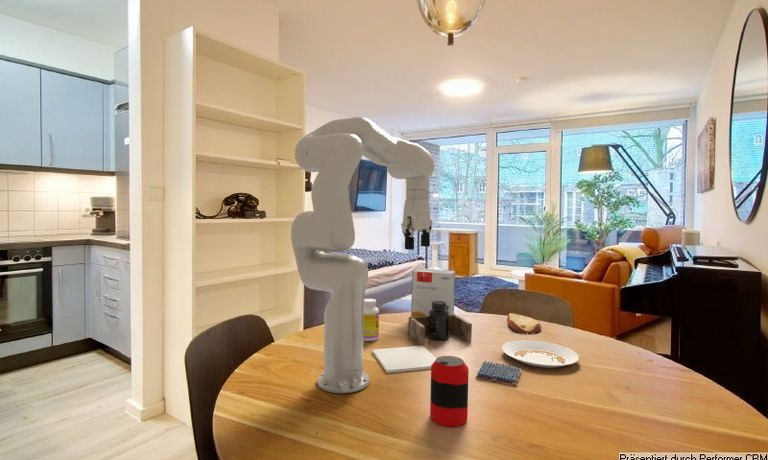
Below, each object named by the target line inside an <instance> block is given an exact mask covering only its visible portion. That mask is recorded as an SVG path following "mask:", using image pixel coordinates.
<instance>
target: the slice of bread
mask: <svg viewBox="0 0 768 460" xmlns="http://www.w3.org/2000/svg"><path fill="white" fill-rule="evenodd" d="M506 321H508V322H507V325H508V327H510V328H511V329H512V330H514V331H515V332H516V331H517V333H519V332H520V333H519V334H522V333H528V334H527V335H531V334H530V333H536V332H537V333H539V332H538V331H540V332H541V331H542V325H541V322H540V321H539V320H537V319H535V318H533V317H529V316H525V315H522V314H516V313H511V312H510V313H508V315H507V319H506ZM537 333H536V334H537Z"/></svg>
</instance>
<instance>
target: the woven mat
mask: <svg viewBox="0 0 768 460" xmlns="http://www.w3.org/2000/svg"><path fill="white" fill-rule="evenodd" d="M521 370H522V368H520V366H517V365H515V366H513V365H512V366H511V365H510V364H509V365H507V364H505V363H502V364H501V363H498V362H496V363H495V362H492V361H487V360H484V361H483V362H482V364H480V367H479V370H478V371H477V373H476V376H475V378H476V379H477V380H483V381H487V382H493V383H499V384H505V385H508V386H509V385H510V386H513V387H514V386H515V387H516V386H518V383H519V380H520V377H521V374H522V371H521Z"/></svg>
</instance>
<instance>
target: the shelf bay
mask: <svg viewBox="0 0 768 460" xmlns="http://www.w3.org/2000/svg"><path fill="white" fill-rule="evenodd" d="M472 327H473V324H472V322H470V321H468V320H467V319H465V318H463V317H461V316H460V315H458V314H456V313H454V314H450V315H449V333H454V334H456V335H457V336H459V338H461V339H463V340H465V341H466V342H467V343H471V342H472V339H473V338H472V334H473V332H472V331H473V330H472V329H473V328H472ZM408 335H409V336H410V337H411V338H412V339H413V340H414V341H415V342H417V344H418V345H419V346H424V347H425V346H426V335H429V316H418V317H411V316H409V317H408Z"/></svg>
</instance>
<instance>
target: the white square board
mask: <svg viewBox="0 0 768 460" xmlns="http://www.w3.org/2000/svg"><path fill="white" fill-rule="evenodd" d="M371 351H372V354H373V356H374V357H375V359H376V360H377V361H378V363H379V365H381V366H382V368H383V369H384V372H386V374H393V373H394V374H395V373H403V372H404V373H405V372H413V371H423V370H425V371H426V370H431V365H432V364H433V363H434V361H435V360H436V359H437V358H438V357H436V356H435V355H434V354H433V353H431V352H430V351H429V350H428V349H427V348H426V347H425V346H421V345H416V346H415V345H413V346H402V347H390V348H388V347H387V348H377V349H376V348H375V349H372V350H371Z"/></svg>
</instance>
